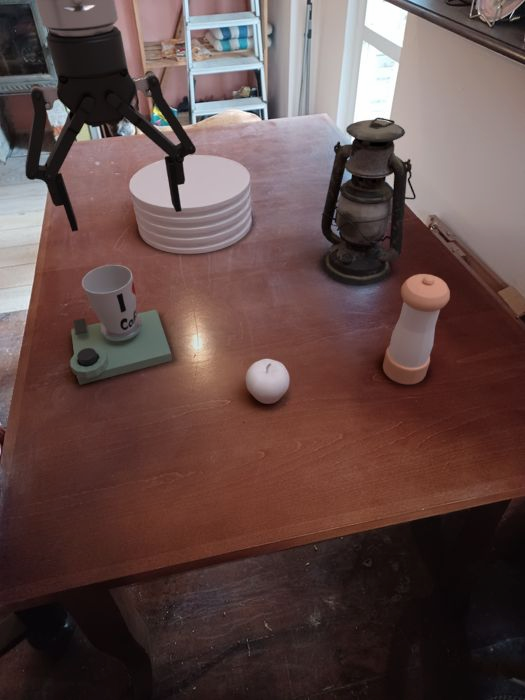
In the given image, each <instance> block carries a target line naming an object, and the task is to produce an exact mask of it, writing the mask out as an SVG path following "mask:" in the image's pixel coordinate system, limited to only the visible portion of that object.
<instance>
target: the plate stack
mask: <svg viewBox="0 0 525 700" xmlns="http://www.w3.org/2000/svg"><path fill="white" fill-rule="evenodd" d="M183 168H184V176H185V182H184V184H181V185H178V190H179V196H180V203H181V210H182V211H180V212H176V211H175V209H174V207H173V205H172V201H171V195H170V189H169V182H168V176H167V170H166V164H165V158H164V159H161V160H158V161H154V162H152V163H150V164H147V165H145V166H143V167H142V168H140V169H139V170H138V171H136V172H135V173H134V175H132V177H131V178H130V180H129V185H128V187H129V191H130V192H129V193H130V195H131V201H132V204H133V210H134V211H133V212H134V214H135V220H136V224H137V228H138V233H139V235H140V237H141V239H142V240H143V241H144V242H145V243H146V244H147V245H149V246H151V247H152V248H154V249H157V250H159V251H163V252H166V253H172V254H177V255H178V254H179V255H197V254H198V255H199V254H206V253H210V252H215V251H219V250H223V249H225V248H228V247H230V246H232V245H234V244H236V243H237V242H239V241H241V240H242V239H244V237H245V236H246V235H247V234H248V233H249V232H250V230H251V227H252V219H253V218H252V196H251V193H252V191H251V190H252V189H251V174H250V172H249V171H248V169H247V168H246V167H245V166H244V165H242V164H241V163H239V162H237V161H236V160H232V159H230V158H227V157H222V156H217V155H209V154H189V155H187V156H185V157H184V162H183Z"/></svg>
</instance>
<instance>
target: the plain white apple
mask: <svg viewBox="0 0 525 700" xmlns="http://www.w3.org/2000/svg"><path fill="white" fill-rule="evenodd" d="M290 381H291V380H290V374H289V370H288V369H287V368H286V366H285V364H283V363H282V362H281V361H278V360H275V359H271V358H262V359H259V360H257V361H255V362H253V363H252V364H251V365H250V366H249V368H248V370H247V371H246V373H245V385H246V388H247V390H248V392H249V393H250V394H251V396H253V398H254V399H255V400H257V401H258V402H260V403H261V404H266V405H271V404H275V403H277V402H278V401H280V400H281V399H282V397H283V396H284V395H285V394H286V393H287V391H288V389H289V387H290Z"/></svg>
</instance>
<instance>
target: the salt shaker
mask: <svg viewBox="0 0 525 700" xmlns="http://www.w3.org/2000/svg"><path fill="white" fill-rule="evenodd" d="M400 295H401V299H402V301H403V303H402V306H401V311H400V314H399V315H400V316H399V318H398V320H397V322H396V324H395V326H394V328H393V330H392V333H391V338H390V342H389V345H388V346H387V348H386V350H385V354H384V358H383V364H382V369H383V372H384V374H385V375H386V376H387V377H388V378H389V379H390V380H392V381H394V382H396V383H398V384H402V385H415V384H418V383H420V382H422V381H423V380H424V379H425V377H426V375H427V372H428V370H429V365H430V363H431V353H432V349H433V347H434V341H435V331H436V325H437V322H438V318H439V315H440V312H441V309H443V308H444V307H445V306H447V304H448V303H449V301H450V299H451V291H450V288H449V286H448V284H447V282H445V281H444V280H443V278H440V277H438V276H435V275H433V274H427V273H418V274H414V275H412V276H410V277H408V278H407V279H406V280H405V281H404V282H403V284H402V285H401V287H400Z"/></svg>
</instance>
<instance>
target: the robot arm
mask: <svg viewBox="0 0 525 700" xmlns="http://www.w3.org/2000/svg"><path fill="white" fill-rule="evenodd" d="M35 3H36V7H37V10H38V15H39V17H40V21H41V24H42V26H43V27H44V28H46V29H47V30H49V31H48V32H47V35H46V37H45V39H46V43H47V46H48V49H49V53H50V57H51V61H52V64H53V67H54V71H55V74H56V77H57V84H56V85H57V86H53V87H51V86H47V87H46V86H45V87H44V86H42V85H40V84H38V83H33V84H32V85H31V86H30V97H31V102H32V106H33V111H32V113H33V114H32V119H31V126H30V133H29V139H28V146H27V152H26V159H25V165H24V166H25V177H26V178H27V179H28V180H30V181H34V180H40V181H43V182H44V183H45V185H46V188H47V191H48V193H49V196H50V199H51V202H52V204H53V205H54V206H55V207H60V206H63V208H64V211H65V214H66V217H67V220H68V223H69V226H70V229H71V232H77V231H79V227H78V221H77V218H76V215H75V212H74V208H73V205H72V202H71V200H70V195H69V193H68V190H67V186H66V183H65V180H64V177H63V173H62V172H60V170H61V168H62V167H63V164H64V162H65V160H66V159H67V156H68V154H69V152H70V150H71V149H72V147H73V145H74V142H75V140H76V138H77V137H78V135H79V134H80V133H81V131H82V129H83V127H84V125H87V126H89V127H90V126H91V128H98V127H101V126H103V125H114V126H115V125H119V124H120V122H122V121H123V120H124V119H126V120H127V121H128V122H129V123H130V124H131V125H133V126H134V127H135V128H136V129H138V130H139V131H140V132H142V134H144V136H146V137H147V138H148V139H149V140H150V141H152V143H154V144H155V145H156V146H157V147H158V148H159V149H161V150H162V151H163V152H164V153H165V154H166V155H165V156H164V159H165V164H166V170H167V176H168V182H169V189H170V195H171V201H172V205H173V207H174V209H175V211H176V212H180V211H182V210H181V203H180V196H179V190H178V185H181V184H184V182H185V176H184V168H183V162H184V157H185V156H187V155H195V153H196V151H197V148H196V146H195V144H194V142H193V141H192V140H191V138H190V136H189V135H188V133H187V132H186V130H185V128H184V127H183V125H182V124H181V122H180V120H179V119H178V117H177V116H176V115H175V113H174V111H173V110H172V108H171V107H170V105H169V103H168V102H167V101H166V99H165V98H164V94H163V91H162V88H161V84H160V80H159V78H158V77H157V75H156V74H155V72H154V71H152V70H147V71H146V72H145V73H144V74H143V75H140V76H136V77H131V74H130V72H129V67H128V63H127V57H126V52H125V46H124V41H123V36H122V32H121V30H119V28H118V27H117V26H115V24H116V23H117V21H118V20H119V16H118V12H117V6H116V5H117V4H116V1H115V0H35ZM137 91H140V92H141V93H142V94H143V96H145V97H146V98H151V100H152V101H153V103H154V104H155V106H156V108H157V109H158V111H159V112H160V113H161V115H162V117H163V118H164V120H165V121H166V122H167V124H168V125H169V127H170V128H171V129H170V130H172V132H173V134H174V135H175V136H176V138H177V139H178V141H179V143H177V144H175V143H174V142H173V141H172V140H170V138H168V137H167V136H166V135H165V134H164V133H163V132H162V131H160V130H159V128H157V127H156V126H155V125H154V124H153V123H152V122H150V121H149V120H148V119H147V118H146V117H145V116H144V115H143V114H142V113H141V112H140V111H139V110H138V109H137V108H136V107H135V106H134V105H132V102H133V100H134V98H135V96H136V92H137ZM56 101H59V102H60V103H61V104H62V105H64V106H65V107H66V108H67V109H68V110H69V111H68V114H67V116H66V119H65V122H64V124H63V126H62V128H61V130H60V133H58V137H57V138H56V141H55V142H54V145H53V147H52V148H51V150H50V153H49V155H48V157H47V159H46V160H45V163H44V164H40V160H41V156H42V155H41V154H42V148H43V144H44V137H45V132H46V126H47V118H48V117H47V116H48V115H47V114H48V113H47V111H51V110H52V109H53V108H54V103H55V102H56Z"/></svg>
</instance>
